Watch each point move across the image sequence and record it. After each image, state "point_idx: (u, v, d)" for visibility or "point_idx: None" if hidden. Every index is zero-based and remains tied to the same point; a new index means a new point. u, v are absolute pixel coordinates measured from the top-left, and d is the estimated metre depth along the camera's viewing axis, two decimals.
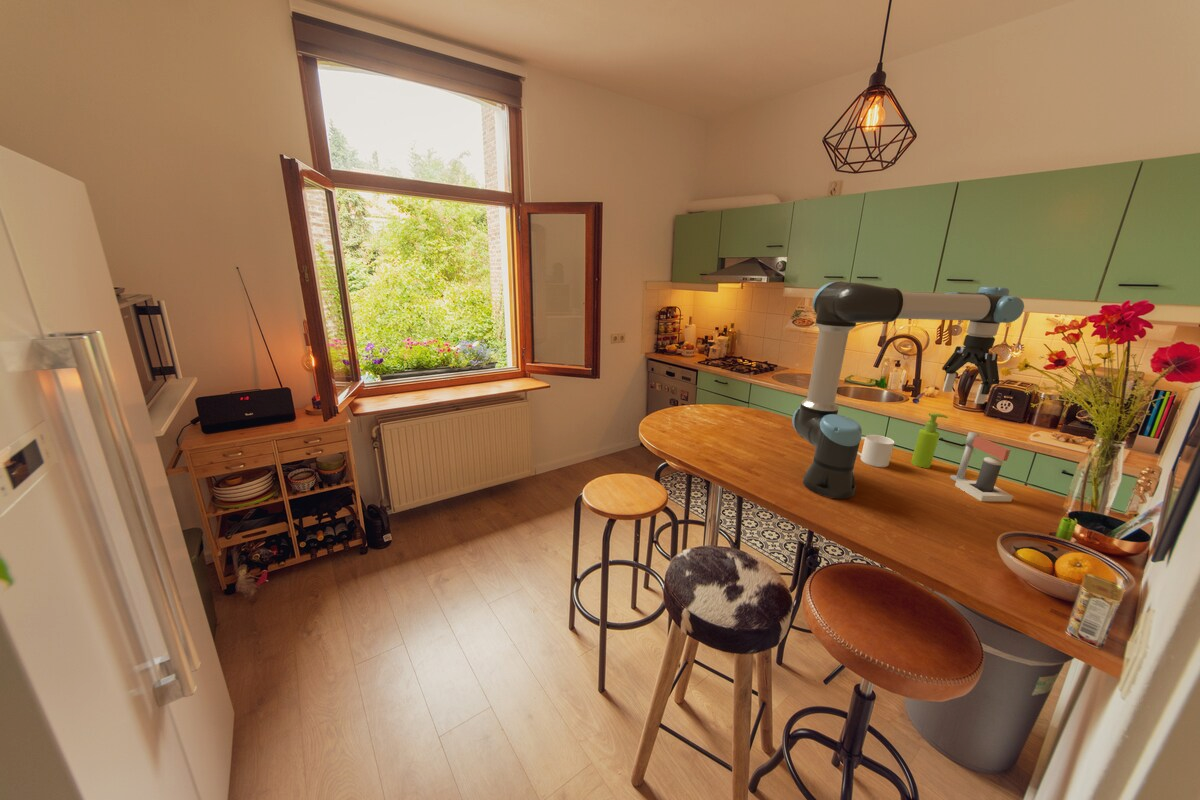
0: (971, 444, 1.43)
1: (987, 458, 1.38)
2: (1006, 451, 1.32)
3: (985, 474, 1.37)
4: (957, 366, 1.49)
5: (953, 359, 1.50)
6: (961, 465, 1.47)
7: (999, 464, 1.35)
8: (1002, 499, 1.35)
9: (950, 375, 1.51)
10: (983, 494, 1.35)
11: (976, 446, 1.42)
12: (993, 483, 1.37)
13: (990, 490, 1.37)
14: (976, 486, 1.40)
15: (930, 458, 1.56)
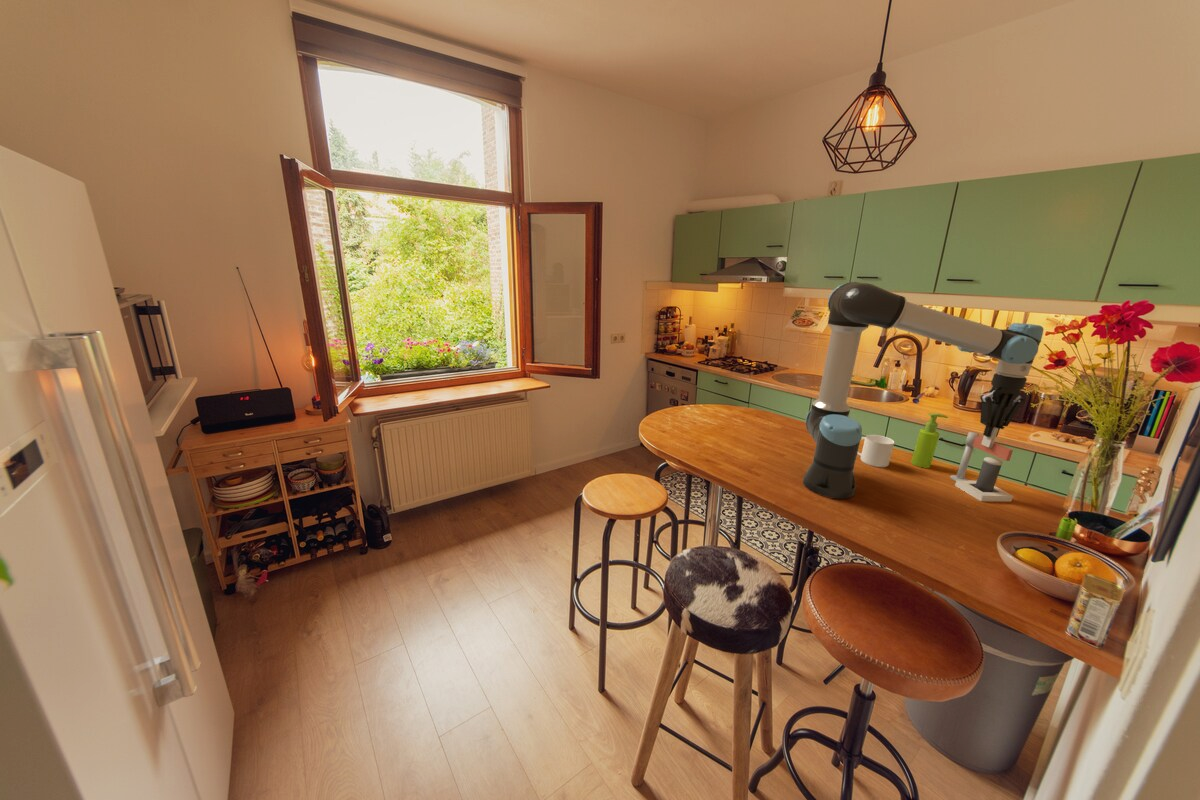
0: (971, 444, 1.43)
1: (987, 458, 1.38)
2: (1009, 451, 1.32)
3: (985, 474, 1.37)
4: None
5: None
6: (961, 465, 1.47)
7: (999, 464, 1.35)
8: (1002, 499, 1.35)
9: None
10: (983, 494, 1.35)
11: (977, 446, 1.42)
12: (993, 483, 1.37)
13: (990, 490, 1.37)
14: (976, 486, 1.40)
15: (930, 458, 1.56)
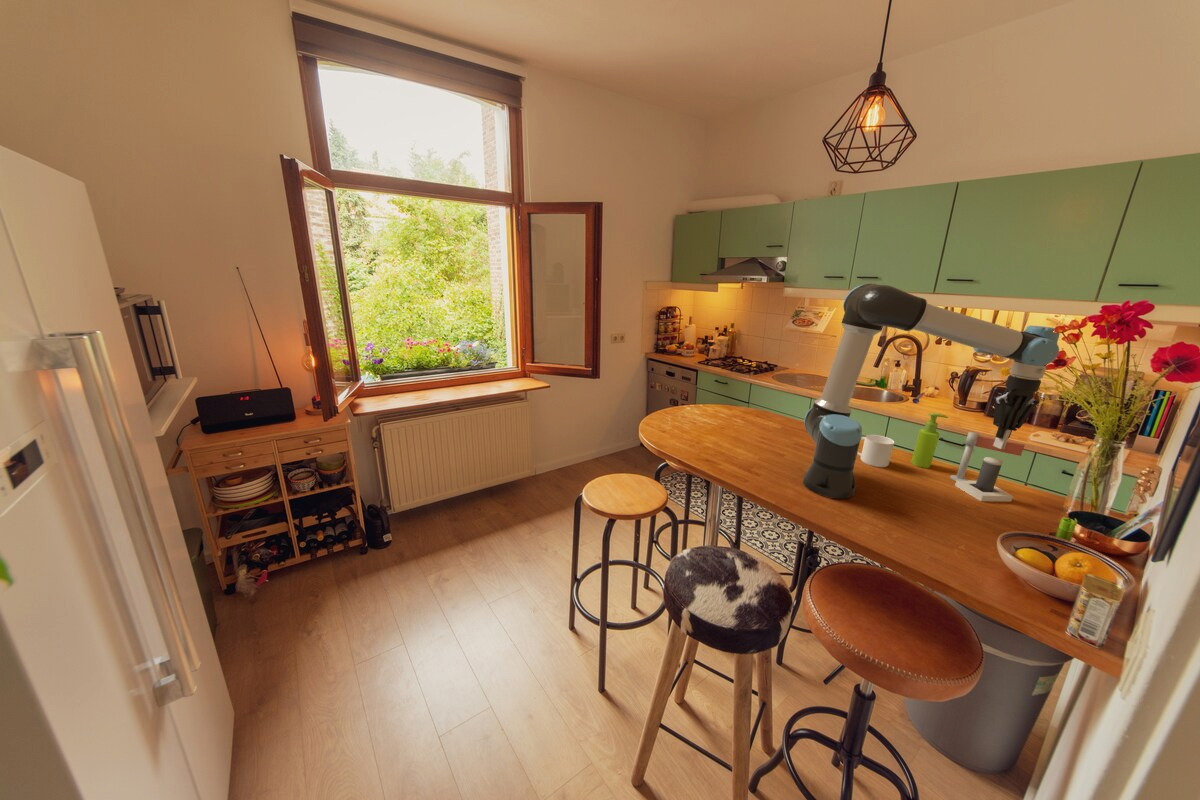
0: (975, 444, 1.43)
1: (987, 458, 1.38)
2: (1023, 446, 1.36)
3: (985, 474, 1.37)
4: None
5: None
6: (961, 465, 1.47)
7: (999, 464, 1.35)
8: (1002, 499, 1.35)
9: None
10: (983, 494, 1.35)
11: (981, 445, 1.42)
12: (993, 483, 1.37)
13: (990, 490, 1.37)
14: (976, 486, 1.40)
15: (930, 458, 1.56)
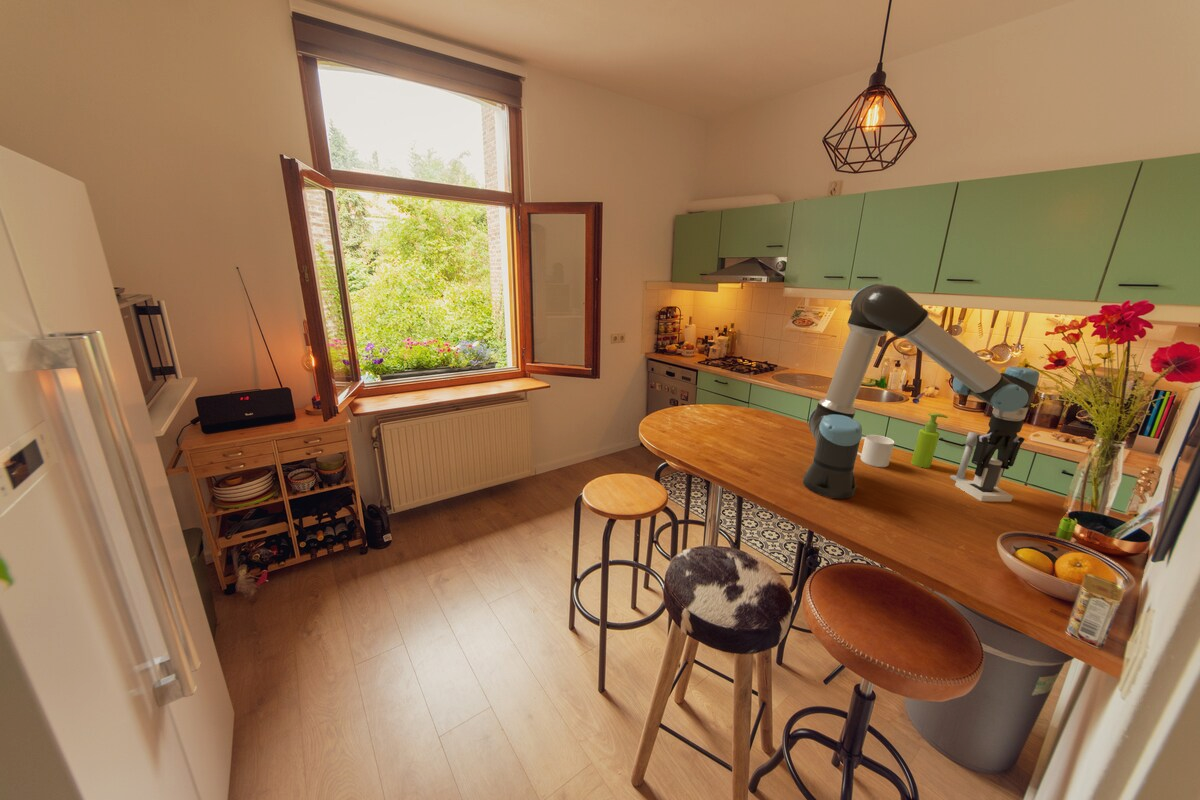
0: None
1: None
2: None
3: None
4: (999, 454, 1.36)
5: (1008, 449, 1.36)
6: (961, 465, 1.47)
7: (999, 464, 1.35)
8: (1002, 499, 1.35)
9: None
10: (983, 494, 1.35)
11: None
12: (993, 483, 1.37)
13: (990, 490, 1.37)
14: (976, 486, 1.40)
15: (930, 458, 1.56)
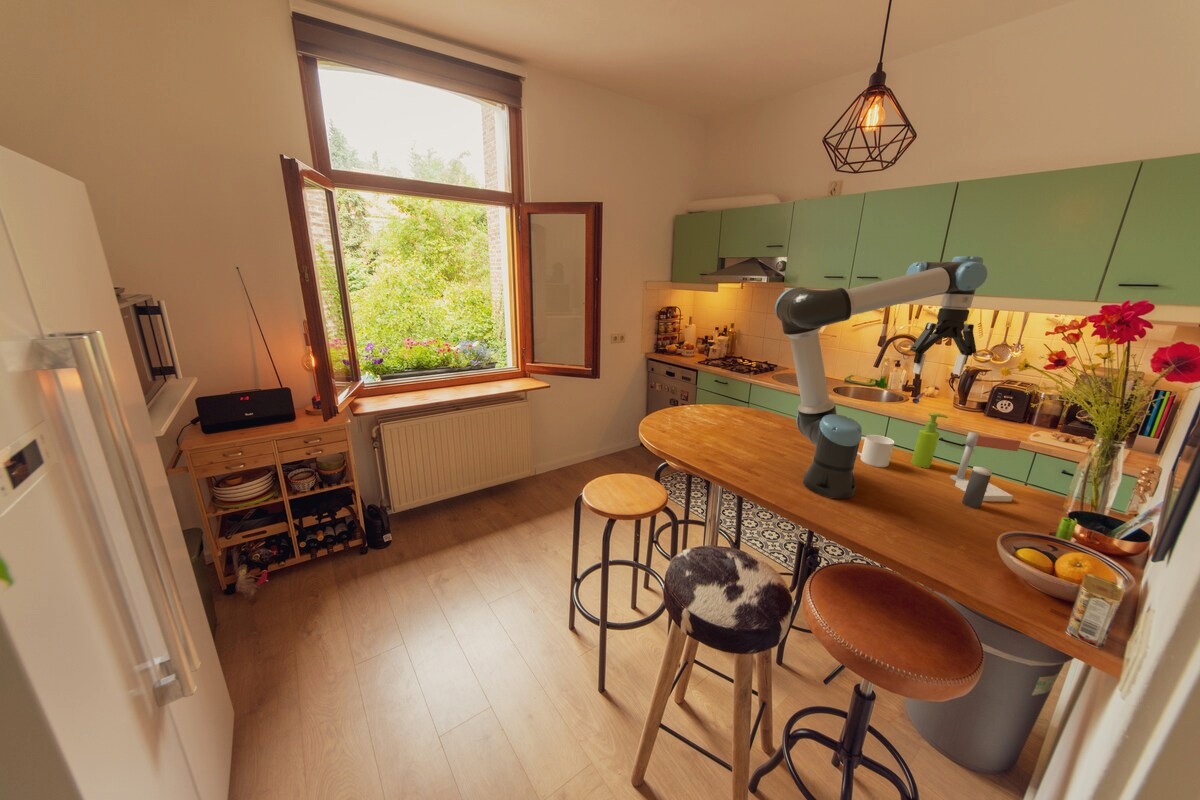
0: (976, 444, 1.43)
1: (976, 468, 1.30)
2: (1019, 442, 1.39)
3: (974, 484, 1.30)
4: (958, 344, 1.39)
5: (965, 338, 1.38)
6: (961, 465, 1.47)
7: (988, 474, 1.27)
8: (1002, 499, 1.35)
9: (958, 355, 1.40)
10: None
11: (981, 445, 1.43)
12: (982, 494, 1.29)
13: (979, 501, 1.30)
14: (965, 497, 1.33)
15: (930, 458, 1.56)
